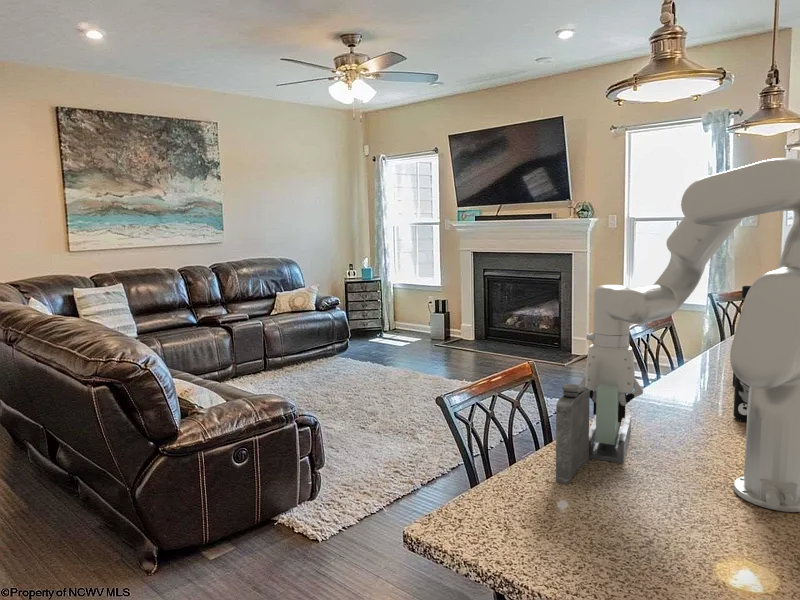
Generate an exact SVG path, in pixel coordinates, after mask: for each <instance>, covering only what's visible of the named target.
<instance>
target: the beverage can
mask: <svg viewBox="0 0 800 600" xmlns="http://www.w3.org/2000/svg"><path fill="white" fill-rule="evenodd" d="M749 389H750V386H748V385H746V384H745V383H743V382H742V381H741V380H739V379H738V377H737V376H736V377H735V386H734V391H733V393H734V395H733V417H735V419H736V420H738V421H739V422H743V423H746V424H747V410H748V397H749Z"/></svg>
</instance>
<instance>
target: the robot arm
mask: <svg viewBox="0 0 800 600" xmlns="http://www.w3.org/2000/svg"><path fill="white" fill-rule="evenodd" d="M680 202H681V203H680V206H681V211H682V213H683V218H682V219H681V220H680V222H679V223H678V224H677V226H676V227H675V229H674V230H673V231H672V232H671V233H670V235H669V236H668V238H667V239H666V247H667V251H669V252H670V259H669V262H668V265H667V266H666V268H665V269H664V271H663V272H662V273H661V274H660V276H658V278H657V280H656V281H655V282H654V283H653V284H651V285H646V286H642V287H635V288H629V287H627V286H626V285H621V284H601V285H598V286H597V287H596V288H595V289H594V293H593V295H594V296H593V331H592V332H591V333H586V341H591V342H592V344H590V345H589V347H588V351H587V352H588V353H587V357H586V367H585V368H586V369H585V375H584V377H583V378H582V379H581V380H580V381H579V383H578V384H577V385H578V386H579V388H580V387H582V388H588V389H589V390H590V399H591V401H592V403H593V407H592V409H593V415H594V416H595V415H596V399H597V388H598V385H599V384H603V385H613V386H618V393H619V397H620V402H619V405H618V422H619V423H621V424H622V420H623V419H625V416H626V409H627V408H626V405H627V404H628V403H629V402H631V401H632V400H633V399H636V398H637V397H639V396H641V395H644V389H643V388H642V386H641V384H640V383H639V381H637V378H636V377H635V373H636V372H635V357H634V351H633V347H632V346H630V330H631V329H630V324H632V325H644V324H648V323H652V322H654V321H659V320H665V319H667V318H668V317H671V316H672V315H673V314H675V313H676V312H677V311H678V310H679V309H680V308H681V307H682V306H683V304H684V303H685V302H686V301H687V299H688V298H689V297H690V296H691V295H692V293H693V292H694V291H695V290H696V288H697V286H698V285H699V283H700V281H701V279H702V275H704V272H705V269H706V266H707V264H708V262H709V261H710V259H711V258H712V257H713V256H714V255H715V254H716V252H717V251H718V249H719V248H720V247H721V246H722V245H723V243H725V241H726V240H727V239H728V237H729V236H730V235H731V234H732V233H733V232H734V230H735V229H736V228H737V226H739V224H740V223H741V222H742V221H743V220H744V219H745V218H751V217H753V216H759V215H764V214H765V215H766V214H769V213H775V212H776V213H777V212H788V211H789V212H790V211H792V212H794V215H795V216H794V222H793V224H792V225H791V228H790V230H789V231H788V234H787V235H786V239H785V242H784V245H783V249H782V254H781V257H780V260H779V262H778V265H777V268H776V269H775V270H770V271H767V272H766V273H764V274H762V275H761V276H759V277H758V278H757V279H756V280H755V281H754V282H753V283H752V284H751V285H750V286H751V287H750V289H749V291H748V293H747V295H746V297H745V298H744V299H745V300H744V301H743V304H742V307H741V311H740V315H739V317H738V321H737V325H736V329H735V332H734V335H733V338H732V339H733V340H732V341H731V342H732V343H731V347H730V353H729V363H730V367H731V370H732V373H733V372H734V373H735V375H736V376H737V377H738V379H739V380H741V381H742V382H743V383H745V384H746V385H748V386H750V389H749V397H748V410H747V423H746V430H745V433H746V434H745V449H744V450H745V451H744V452H745V453H744V470H743V476H740V477H738V478H735V480H734V482H733V490H734V492H735V493H736V494H737V496H738V497H740V498H741V499H743V500H744V501H746V502H748V503H751V504H753V505H755V506H759V507H762V508H766V509H769V510H772V511H780V512H785V513H786V512H787V513H800V158H793V157H792V158H791V157H775V158H771V159H770V158H769V159H767V160H766V159H764V160H762V161H761V160H760V161H758V162H755V163H752V164H748V165H745V166H744V165H743V166H740V167H738V168H733V169H729V170H727V171H722V172H719V173H714V174H711V175H707V176H704V177H701V178H699V179H697V180H695V181H693V182H692V183H691V184H690V185H689V186H688V187H687V188H686V189H685V190H684V193H683V194H682V198H681V201H680Z"/></svg>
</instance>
